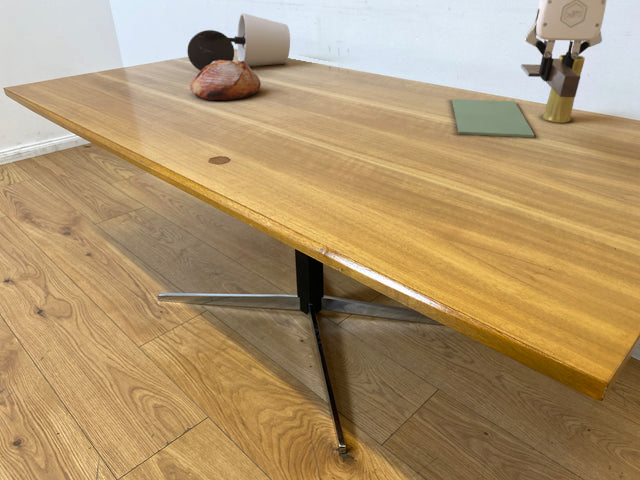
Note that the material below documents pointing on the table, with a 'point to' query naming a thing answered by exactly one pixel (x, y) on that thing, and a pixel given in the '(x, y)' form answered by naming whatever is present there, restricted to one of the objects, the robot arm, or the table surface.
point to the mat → (490, 118)
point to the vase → (562, 99)
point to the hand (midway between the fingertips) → (553, 78)
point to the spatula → (557, 77)
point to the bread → (225, 81)
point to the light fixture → (243, 44)
